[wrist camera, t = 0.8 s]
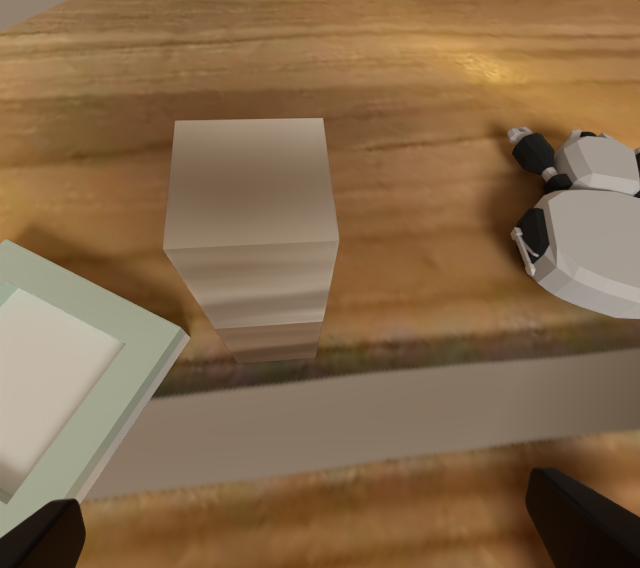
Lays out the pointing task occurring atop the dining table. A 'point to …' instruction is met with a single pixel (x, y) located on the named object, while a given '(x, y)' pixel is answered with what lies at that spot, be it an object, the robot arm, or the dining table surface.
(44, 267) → the picture frame
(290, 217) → the block stack
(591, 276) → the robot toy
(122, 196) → the dining table surface
